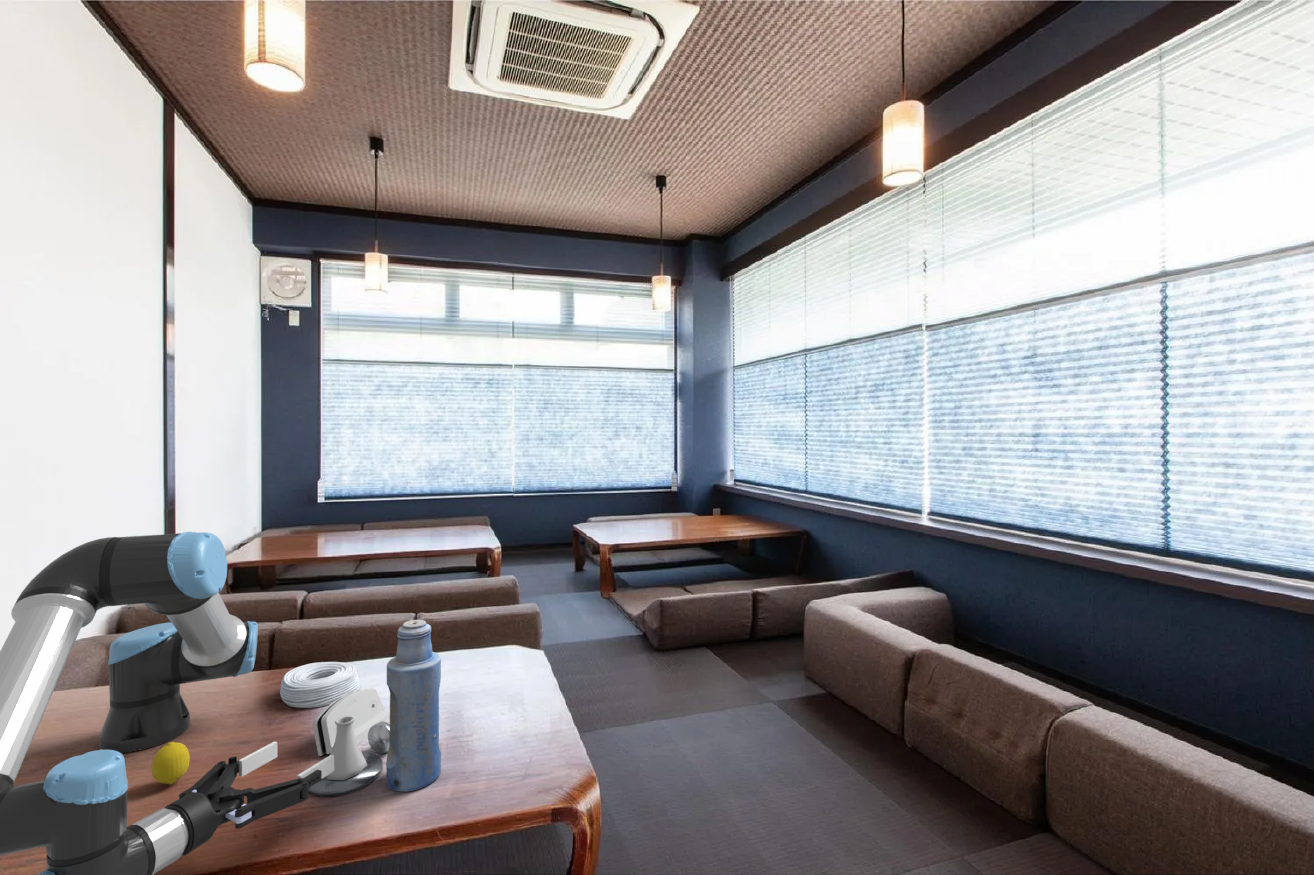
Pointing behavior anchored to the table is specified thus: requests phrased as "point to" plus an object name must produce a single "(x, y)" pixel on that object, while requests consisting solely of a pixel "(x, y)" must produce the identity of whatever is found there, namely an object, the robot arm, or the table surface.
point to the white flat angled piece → (355, 704)
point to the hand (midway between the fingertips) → (303, 755)
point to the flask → (346, 751)
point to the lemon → (170, 763)
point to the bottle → (414, 710)
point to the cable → (318, 684)
